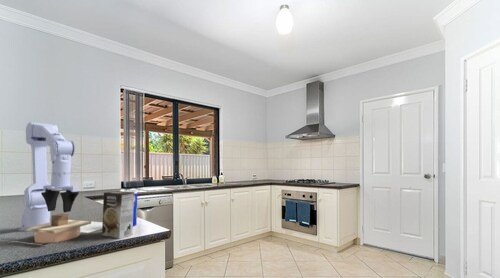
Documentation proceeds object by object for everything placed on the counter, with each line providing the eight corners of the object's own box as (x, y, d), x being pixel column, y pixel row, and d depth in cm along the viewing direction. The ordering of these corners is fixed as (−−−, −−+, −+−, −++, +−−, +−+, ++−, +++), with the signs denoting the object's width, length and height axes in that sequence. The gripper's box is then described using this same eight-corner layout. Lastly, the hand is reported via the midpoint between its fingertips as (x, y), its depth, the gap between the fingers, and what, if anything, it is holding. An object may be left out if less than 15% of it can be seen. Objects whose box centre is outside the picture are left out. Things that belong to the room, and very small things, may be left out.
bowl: (25, 242, 91) (25, 230, 91) (61, 232, 103) (62, 221, 103) (52, 245, 87) (53, 233, 87) (87, 235, 99) (88, 224, 99)
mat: (58, 231, 105) (58, 229, 105) (91, 222, 119) (91, 221, 119) (87, 234, 100) (88, 232, 100) (118, 224, 115) (118, 223, 115)
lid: (24, 230, 91) (25, 217, 91) (63, 221, 104) (64, 210, 105) (54, 233, 87) (55, 220, 87) (91, 223, 100) (91, 212, 100)
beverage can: (131, 228, 108) (132, 191, 109) (120, 228, 109) (121, 191, 110) (139, 225, 113) (140, 190, 114) (128, 225, 114) (129, 190, 115)
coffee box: (100, 236, 97) (102, 192, 98) (115, 232, 103) (117, 190, 104) (119, 239, 93) (120, 193, 95) (133, 234, 99) (134, 191, 101)
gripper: (35, 174, 95) (33, 212, 94) (65, 174, 91) (63, 214, 90) (54, 173, 102) (52, 208, 101) (83, 173, 97) (82, 210, 96)
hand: (59, 211), depth 96 cm, fingers open, 7 cm apart
